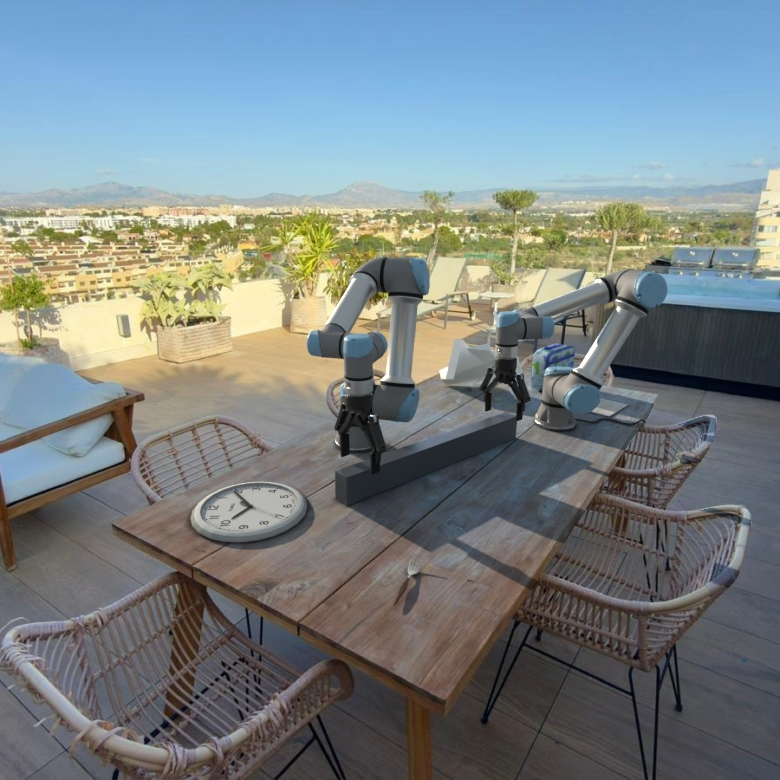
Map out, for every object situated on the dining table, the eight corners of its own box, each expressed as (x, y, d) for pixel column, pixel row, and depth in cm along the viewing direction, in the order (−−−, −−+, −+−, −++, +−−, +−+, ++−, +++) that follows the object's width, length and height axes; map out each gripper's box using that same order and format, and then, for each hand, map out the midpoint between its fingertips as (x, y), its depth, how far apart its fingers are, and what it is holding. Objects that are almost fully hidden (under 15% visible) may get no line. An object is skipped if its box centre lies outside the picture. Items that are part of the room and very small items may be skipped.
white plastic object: (461, 429, 252) (437, 405, 227) (444, 352, 274) (420, 323, 250) (535, 404, 240) (518, 377, 215) (510, 326, 262) (492, 293, 237)
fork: (388, 605, 105) (388, 597, 104) (412, 560, 119) (412, 553, 119) (400, 609, 104) (400, 600, 104) (423, 563, 119) (423, 555, 118)
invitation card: (608, 416, 214) (573, 407, 224) (608, 416, 214) (573, 408, 224) (628, 404, 229) (594, 396, 238) (628, 405, 229) (594, 397, 238)
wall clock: (302, 534, 126) (174, 538, 123) (303, 540, 126) (175, 544, 124) (310, 477, 154) (206, 479, 152) (310, 482, 155) (206, 484, 152)
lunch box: (547, 395, 239) (552, 351, 233) (526, 390, 247) (530, 347, 240) (574, 384, 257) (579, 343, 251) (554, 380, 264) (558, 339, 258)
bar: (503, 433, 195) (505, 412, 192) (515, 438, 191) (517, 416, 188) (335, 498, 146) (334, 470, 144) (346, 505, 143) (346, 477, 140)
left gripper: (320, 383, 146) (323, 452, 153) (377, 408, 128) (378, 485, 135) (342, 378, 150) (344, 445, 157) (400, 401, 133) (399, 476, 140)
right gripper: (470, 353, 186) (469, 409, 193) (530, 365, 168) (526, 427, 175) (484, 349, 191) (482, 404, 197) (543, 361, 173) (539, 421, 179)
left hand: (359, 464), depth 146 cm, fingers open, 13 cm apart
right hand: (503, 415), depth 186 cm, fingers open, 13 cm apart
